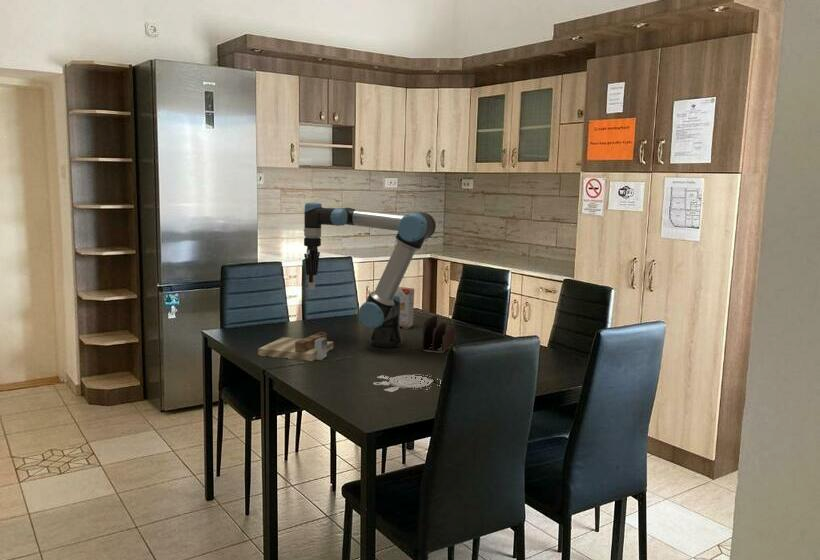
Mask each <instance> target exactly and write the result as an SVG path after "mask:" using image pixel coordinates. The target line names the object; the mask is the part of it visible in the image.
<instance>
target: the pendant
mask: <svg viewBox="0 0 820 560" xmlns="http://www.w3.org/2000/svg"><path fill="white" fill-rule="evenodd" d="M415 375H416V373H415V374H404V375H397V376H394V377H390V376H387V375H383V374H382V375H378V376H377V377H376V378H377V379H382V378H383V379H382V380H383V381H381V382H380V381H379V382H377V381H376V382H375V381H374V382H373V383H372V384H373V385H374V386H380V385H382V386H390V385H391V387H388V388H385V389H383V391H386V392H390V393H393V392H395V391H397V390H399V388H400V389H406V388H413V389H412V390H419V389H418V388H420V389H423V388H422V387H425V386H426V388H425V390H428V387H427V386H429V385H430V384H431V383H432V382H433V381H434V380H433V379H431V378H427V377H422V376H415ZM419 375H423V376H424V374H422V373H421V374H419ZM384 376H385V377H384ZM389 377H390V378H389ZM406 377H407V378H406ZM411 377H412V378H411ZM415 377H416V379H415ZM429 377H431V376H429ZM388 378H389V379H388ZM421 378H422V379H423V380H421ZM438 379H439V378H437V380H438ZM384 380H385V381H384ZM387 380H389V381H387ZM439 380H440V384H441V381H442V379H439ZM397 381H398V382H397ZM420 381H421V382H420ZM424 381H425V382H424ZM428 382H429V383H428ZM420 383H421V384H420ZM427 383H428V384H427ZM432 384H433V383H432ZM432 384H431V385H432ZM431 385H430V386H431ZM392 386H393V387H392ZM439 386H440V385H439ZM414 387H415V389H414ZM416 388H417V389H416Z"/></svg>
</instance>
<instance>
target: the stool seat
mask: <svg viewBox="0 0 820 560" xmlns="http://www.w3.org/2000/svg"><path fill="white" fill-rule="evenodd" d="M301 339H302V338H296V337H287V336H282V337H280V338H278V339H276V340H274V341H272V342H269V343H267V344H265V345H264V346H261V347H259V348H258V349H257V350H258V351H257V356H258V355H260V356H259V357H266V356H268V357H269V358H276V357H277V358H278V359H286V358H288V359H289V360H295V359H297V360H296V361H305V360H306V361H305V362H313V361H316V360H315V348H313V349H311V350H308V351H306V352H297V351H295V342H296V341H298V340H301ZM331 349H332V350H333V349H334V341H328V340H327V353H328V352H330V351H331ZM329 350H330V351H329Z"/></svg>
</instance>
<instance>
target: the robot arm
mask: <svg viewBox="0 0 820 560" xmlns="http://www.w3.org/2000/svg"><path fill="white" fill-rule="evenodd" d="M303 211H304V212H303V214H304V217H303V218H304V219H303V221H304V225H303V235H304V238H303V246H304V247H306V253H304V254H303V256H304V260H305V262H304V263H305V273H306V276H308V278H307V279H308V282H307V283H308V284H307V285H308V287H307V289H308V290H309V291H310V290H312V291H315V290H316V276H318V271H319V262H320V255H321V252H320V251H319V250H318V249H319V247H321V245H322V238H321V237H322V226H323V225H324V226H336V227H338V226H345V225H348V226H358V227H366V228H372V229H379V230H387V231H388V230H389V231H396V232H397V233H396V236H395V239H396V244H395V246H394V249H393V251H392V253H391V255H390V256H389V259H388V262H387V263H386V266H385V268H384V269H383V270H384V271H383V272H382V275H381V277H380V279H379V281H378V283H377V285H376V288H375V290H373V291H370V292H369V294H368V296H367V299H366V301H365V302H363V303H362V304H361V305H360V306H359V309H358V318H359V321H360V323H361V324H363V326H365V327H366V328H370V329H372V330H371V335H370V337H369V345H371V346H373V345H375V347H378V346H382V347H381V348H391V347H390V346H398V345H401V344H402V345H403V341H404V339H403V336H402V332H401V330H400V329H401V328H399V320H400V297H399V296H397V295H395V293H396V291H397V289H398V287H400V284H401V283H402V280H403V278H404V277H405V274H406V273H407V269H408V268H409V266H410V263H411V261H412V259H413V257H414V255H415V253H416V251H418V250H421V249H422V247H423V244H424V243H425V240H426V239H429V238H431V237H432V236H433V235H434V234H435V232H436V227H437V225H436V220H435V218H434V217H433V216H432V215H431V214H429V213H426V212H408V214H401V213H396V212H395V213H393V212H385V211H378V210H377V211H375V210H367V209H358V208H357V209H355V208H352V207H335V208H334V207H323V206H322V203H320V202H306V203H305V204H304V210H303ZM402 345H401V346H402ZM398 347H399V346H398Z"/></svg>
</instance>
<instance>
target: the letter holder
mask: <svg viewBox="0 0 820 560" xmlns="http://www.w3.org/2000/svg"><path fill="white" fill-rule="evenodd" d="M455 335H456V330H455V328H451V329H449V330H447V324H446V322H442V323H439V324H438V316H437V315H433V316H430V317H429V318H428V319H426V320H425V321H424V323H423V329H422V340H421V341H422V342H421V345H422V346H421V351H422V350H431V351H439V350H437V349H439V348H440V347H442V351H444V350H446V349H447V348H448V347H449V346H450V345H451V344H453V343H454V342H455V343H456V339H455V338H456V337H455ZM431 344H432V345H431ZM441 344H442V346H441ZM430 347H432V348H430ZM429 348H430V349H429ZM449 348H450V347H449ZM450 349H451V348H450Z"/></svg>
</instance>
